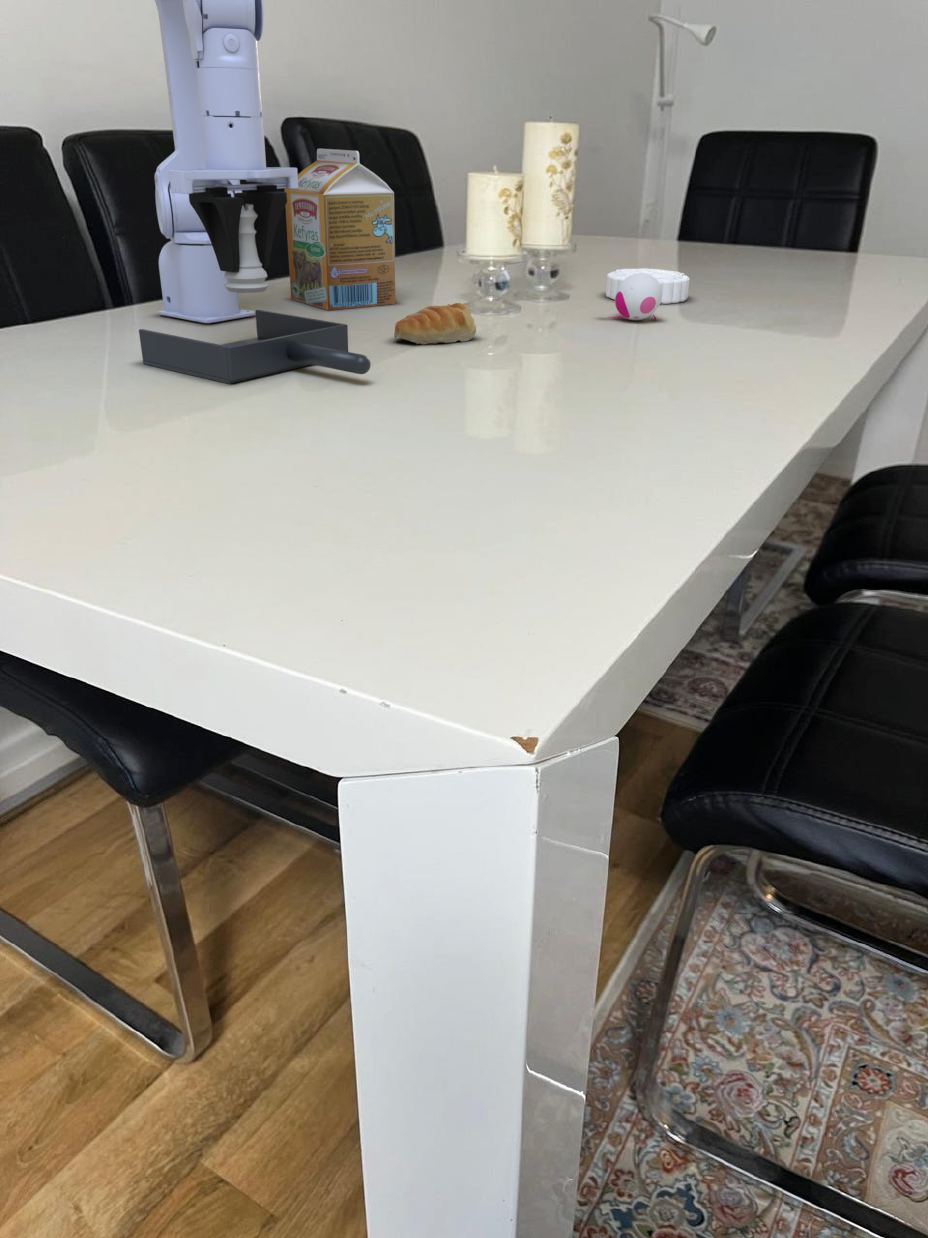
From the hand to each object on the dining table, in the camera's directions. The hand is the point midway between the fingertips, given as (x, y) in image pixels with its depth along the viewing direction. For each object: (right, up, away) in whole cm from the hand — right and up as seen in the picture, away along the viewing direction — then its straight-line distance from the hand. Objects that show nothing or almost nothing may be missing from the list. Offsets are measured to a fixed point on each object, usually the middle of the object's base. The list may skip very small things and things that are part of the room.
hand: (244, 269), depth 97 cm
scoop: (+4, -10, 0) cm, 10 cm away
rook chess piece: (0, -2, +1) cm, 2 cm away
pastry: (+19, -3, +15) cm, 24 cm away
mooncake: (+49, +12, +45) cm, 68 cm away
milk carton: (+5, +9, +37) cm, 38 cm away
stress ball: (+44, +4, +28) cm, 52 cm away
